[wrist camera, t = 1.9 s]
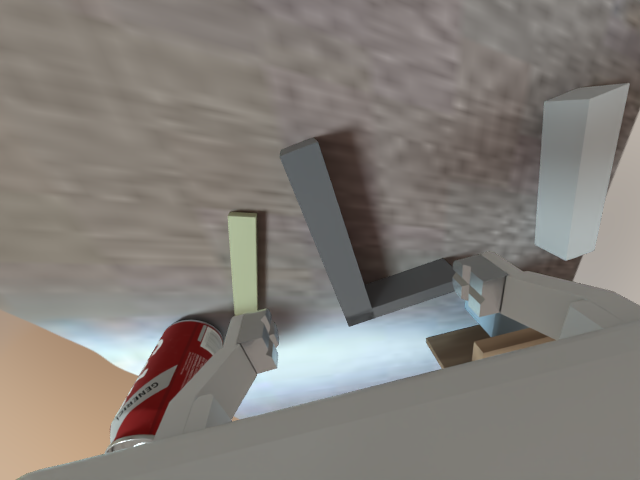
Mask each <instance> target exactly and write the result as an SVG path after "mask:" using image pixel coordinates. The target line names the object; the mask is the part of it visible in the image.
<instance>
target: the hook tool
mask: <svg viewBox="0 0 640 480" xmlns="http://www.w3.org/2000/svg"><path fill="white" fill-rule="evenodd" d="M280 159H281V161H282V164H283V166H284V169H285V171H286V173H287V176H288V178H289V181H290V183H291V186H292V188H293V191H294V193H295V195H296V198H297V200H298V203H299V205H300V208H301V210H302V213H303V215H304V218H305V220H306V222H307V225H308V227H309V230H310V232H311V235H312V237H313V240H314V242H315V245H316V247H317V249H318V252H319V254H320V257H321V259H322V262H323V264H324V267H325V269H326V271H327V274H328V276H329V279H330V281H331V284H332V286H333V289H334V291H335V294H336V296H337V298H338V301H339V303H340V306H341V308H342V311H343V313H344V316H345V318H346V320H347V323H348V325H349V327H350V326H353V325H356V324H359V323H362V322H365V321H368V320H370V319H373V318H376V317H379V316H382V315H385V314H388V313H391V312H394V311H397V310H400V309H403V308H406V307H409V306H412V305H415V304H418V303H421V302H424V301H427V300H430V299H433V298H436V297H439V296H442V295H445V294H448V293H451V292H454V291H455V290H454V287H453V284H452V277H453V276H454V274H455V273H456V272H455V271H454V270H453V267H452V266H451V265H450V264H448V263H447V262H446V261H445V260H444V259H443V258H442V259H439V260H436V261H433V262H430V263H427V264H424V265H421V266H418V267H416V268H413V269H410V270H407V271H404V272H401V273H398V274H395V275H392V276H389V277H387V278H384V279H381V280H378V281H375V282H372V283H369V284H366V285H364V282H363V279H362V276H361V273H360V270H359V267H358V264H357V261H356V258H355V255H354V251H353V248H352V245H351V242H350V239H349V236H348V233H347V230H346V227H345V224H344V221H343V218H342V214H341V211H340V208H339V205H338V202H337V199H336V196H335V193H334V190H333V187H332V184H331V181H330V177H329V174H328V171H327V168H326V165H325V162H324V159H323V156H322V153H321V150H320V147H319V144H318V141H317V140H316V139H314V138H311V139H308V140H305V141H303V142H300V143H298V144H295V145H292V146H290V147H287V148H285V149H282V150H281V153H280Z"/></svg>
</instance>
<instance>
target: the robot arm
mask: <svg viewBox="0 0 640 480" xmlns="http://www.w3.org/2000/svg"><path fill="white" fill-rule="evenodd" d="M453 270H454V271H455V272H456V273H455V274H454V276H453V277H452V284H453V287H454V290H455V291H456V293H457V294H458V295H459V297H460V298H462V299H464V300H467V301H468V306H469V307H470V308H471V309H472V310H473V311H474V312H475V313H476V314H477V315H478V317H482V316H487V315H491V314H496V313H500V312H501V313H500V314H503V315H505V316H507V317H509V318H511V319H513V320H515V321H517V322H519V323H521V324H524V325H526V326H528V327H530V328H532V329H534V330H536V331H538V332H540V333H542V334H544V335H547V336H549V337H551V338H553V339H555V341H551V342H547V343H543V344H539V345H535V346H531V347H527V348H523V349H519V350H515V351H511V352H507V353H503V354H499V355H495V356H491V357H487V358H484V359H480V360H476V361H472V362H468V363H464V364H460V365H456V366H452V367H448V368H444V369H440V370H436V371H432V372H428V373H424V374H420V375H416V376H412V377H408V378H404V379H400V380H396V381H392V382H388V383H384V384H380V385H376V386H372V387H368V388H364V389H360V390H356V391H352V392H348V393H344V394H340V395H336V396H332V397H328V398H324V399H320V400H316V401H312V402H308V403H304V404H300V405H296V406H292V407H288V408H284V409H280V410H276V411H273V412H269V413H265V414H261V415H257V416H253V417H249V418H245V419H241V420H237V421H233V422H232V420H231V419H232V418H233V416H234V414H235V412H236V411H237V409H238V407H239V406H240V404H241V402H242V400H243V399H244V397H245V395H246V393H247V392H248V390H249V388H250V387H251V385H252V383H253V381H254V380H255V378H256V376H257V374H258V373H262V372H265V371H269V370H272V369H276V368H277V363H278V352H277V350H276V347H277V346H278V345H279V336H278V330H277V327H276V324H275V322H273V321H271V313H270V311H269V309H262V310H258V311H254V312H249V313H245V314H241V315H237V316H233V317H232V319H231V321H230V325H229V328H228V331H227V335H226V338H225V341H224V345H223V348H221V349H218V351H217V352H216V353H215V354H214V355H213V356H212V357H211V358H210V359H209V360H208V361H207V362H206V364H205V365H204V366H203V367H202V368H201V369H200V370H199V371H198V372H197V373H196V374H195V375H194V377H193V378H192V379H191V380H190V381H189V382H188V383H187V384H186V385H185V386H184V387H183V388H182V389H181V391H180V392H179V393H178V394H177V395H176V396H175V397H174V398H173V399H172V400H171V401H170V402H169V404H168V407H167V409H166V411H165V414H164V416H163V418H162V421H161V423H160V425H159V428H158V430H157V432H156V435H155V437H154V439H153V441H152V442H149V443H145V444H141V445H137V446H133V447H129V448H125V449H121V450H117V451H114V452H110V453H106V454H102V455H98V456H94V457H90V458H86V459H82V460H79V461H74V462H70V463H66V464H62V465H57V466H53V467H48V468H44V469H40V470H37V471H34V472H30V473H27V474H25V475H23V476H21V477H20V478H18V479H16V480H640V306H639V305H638V304H636V303H634V302H632V301H630V300H628V299H627V298H625V297H623V296H621V295H619V294H617V293H615V292H613V291H610V290H605V289H601V288H597V287H593V286H589V285H585V284H580V283H576V282H572V281H568V280H564V279H560V278H555V277H551V276H547V275H543V274H539V273H535V272H530V271H525V272H523V271H522V270H520V269H519V268H517V267H516V266H514V265H513V264H511V263H510V262H508V261H506V260H505V259H503V258H502V257H500V256H499V255H497V254H496V253H494V252H491V251H489V252H485V253H481V254H478V255H475V256H471V257H467V258H464V259H460V260H456V261H454V263H453Z"/></svg>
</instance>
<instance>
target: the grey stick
mask: <svg viewBox="0 0 640 480" xmlns="http://www.w3.org/2000/svg"><path fill="white" fill-rule="evenodd" d="M629 85H630V83H624V84H614V85H603V86H593V87H582V88H576V89H574V90H571V91H569V92H567V93H564V94H562V95H559V96H557V97H554V98H552V99H549V100H547V101H545V102H544V113H543V128H542V143H541V158H540V173H539V188H538V203H537V218H536V233H535V245H537V246H539V247H540V248H542V249H544V250H546V251H548V252H550V253H552V254H554V255H556V256H557V257H559V258H561V259H563V260H565V261H567V260H570V259H573V258H576V257H578V256H581V255H584V254H587V253H590V252H592V251H594V250H595V245H596V241H597V236H598V230H599V226H600V221H601V217H602V212H603V208H604V203H605V198H606V193H607V189H608V184H609V179H610V175H611V170H612V165H613V160H614V156H615V151H616V146H617V142H618V137H619V132H620V127H621V123H622V118H623V113H624V109H625V104H626V99H627V94H628V90H629Z"/></svg>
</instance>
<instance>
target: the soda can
mask: <svg viewBox="0 0 640 480" xmlns="http://www.w3.org/2000/svg"><path fill="white" fill-rule="evenodd" d="M222 346H223V338H222V335H221V333H220V332H219V331H218V330H217V329H216V328H215V327H214V326H212V325H210V324H208V323H206V322H203V321H199V320H182V321H179V322H176V323H174V324H172V325H170V326H169V327H168V328H167V329H166V330H165V332H164V333H163V335H162V337H161V339H160V340H159V342H158V344H157V346H156V347H155V349H154V351H153V352H152V354H151V356H150V358H149V359H148V361H147V363H146V364H145V366H144V368H143V370H142V371H141V373H140V375H139V377H138V378H137V380H136V382H135V383H134V385H133V387H132V389H131V390H130V392H129V394H128V396H127V397H126V399H125V401H124V403H123V404H122V406H121V408H120V409H119V411H118V413H117V415H116V416H115V418H114V420H113V422H112V423H111V426H110V440H111V444H110V445H109V446H108V448H107V449H106V451H105V454H106V453H110V452H114V451H117V450H121V449H125V448H129V447H133V446H137V445H141V444H145V443H149V442H152V441H153V439H154V437H155V435H156V432H157V430H158V428H159V425H160V423H161V421H162V418H163V416H164V414H165V411H166V409H167V407H168V404H169V402H170V401H171V400H172V399H173V398H174V397H175V396H176V395H177V394H178V393H179V392H180V391H181V389H182V388H183V387H184V386H185V385H186V384H187V383H188V382H189V381H190V380H191V379H192V378H193V377H194V375H195V374H196V373H197V372H198V371H199V370H200V369H201V368H202V367H203V366H204V365H205V364H206V362H207V361H208V360H209V359H210V358H211V357H212V356H213V355H214V354H215V353H216V352H217V351H218V349H221V348H222Z"/></svg>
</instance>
